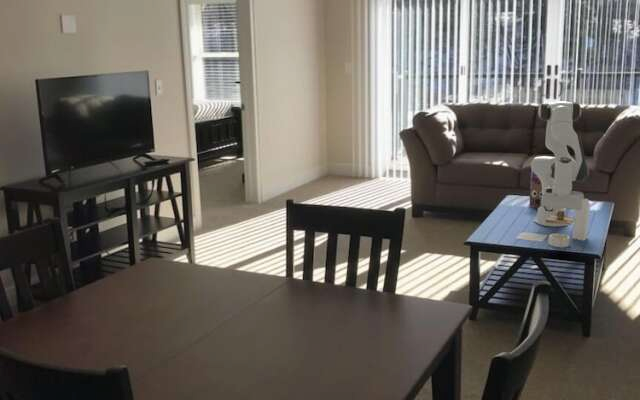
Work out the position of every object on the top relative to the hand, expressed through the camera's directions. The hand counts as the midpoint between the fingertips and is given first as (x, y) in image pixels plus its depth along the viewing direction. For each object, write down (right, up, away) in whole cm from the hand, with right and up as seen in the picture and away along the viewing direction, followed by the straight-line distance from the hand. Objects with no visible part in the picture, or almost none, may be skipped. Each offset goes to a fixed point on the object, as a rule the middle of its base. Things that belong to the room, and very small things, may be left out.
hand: (560, 216), depth 354 cm
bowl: (0, -15, +4) cm, 16 cm away
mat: (-9, -12, +18) cm, 24 cm away
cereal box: (+19, +3, +85) cm, 87 cm away
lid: (0, -2, 0) cm, 2 cm away
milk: (+16, -13, +15) cm, 25 cm away
